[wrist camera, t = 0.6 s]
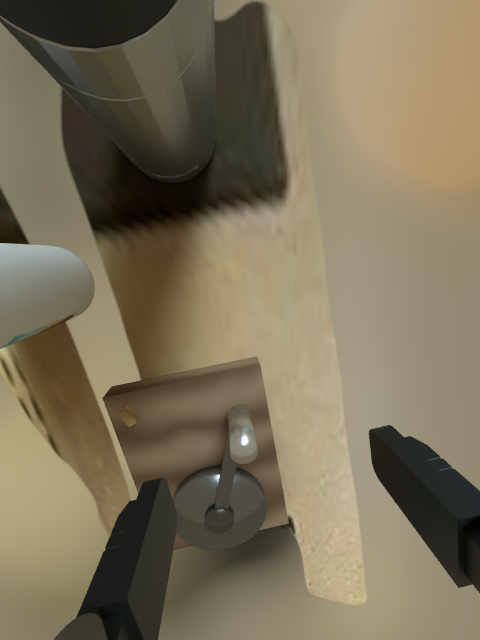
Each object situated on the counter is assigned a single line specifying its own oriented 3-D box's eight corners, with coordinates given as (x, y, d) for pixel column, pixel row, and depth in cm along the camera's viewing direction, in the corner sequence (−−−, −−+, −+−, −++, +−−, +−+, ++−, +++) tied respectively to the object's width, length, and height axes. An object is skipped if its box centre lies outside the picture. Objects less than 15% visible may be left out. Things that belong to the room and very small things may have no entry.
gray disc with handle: (255, 539, 35) (265, 616, 28) (168, 535, 34) (153, 617, 26) (289, 397, 30) (312, 446, 22) (186, 387, 28) (175, 435, 21)
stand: (111, 386, 31) (98, 403, 27) (256, 356, 31) (261, 369, 28) (164, 533, 37) (159, 561, 34) (284, 506, 38) (290, 531, 34)
